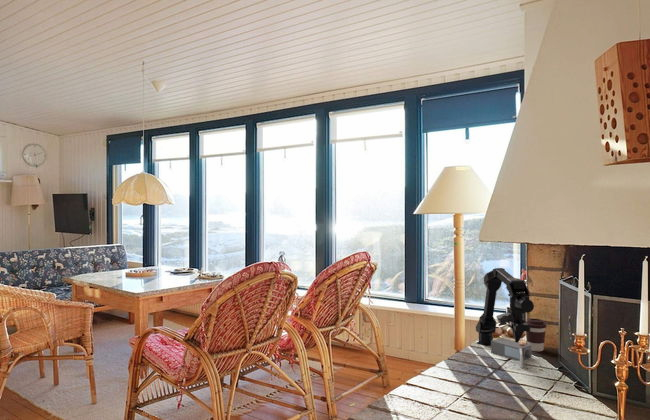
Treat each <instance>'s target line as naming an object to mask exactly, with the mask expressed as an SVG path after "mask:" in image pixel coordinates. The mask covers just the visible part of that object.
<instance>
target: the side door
mask: <svg viewBox="0 0 650 420" xmlns="http://www.w3.org/2000/svg"><path fill="white" fill-rule="evenodd" d="M518 362H519V366H520V368H521V369H523V366H524V361H523V356H522V348H519V361H518Z"/></svg>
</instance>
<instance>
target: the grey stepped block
mask: <svg viewBox="0 0 650 420" xmlns="http://www.w3.org/2000/svg"><path fill="white" fill-rule="evenodd" d="M519 348H522V356H523V362H524V361H527V360H529V359H532V354H533V353H532V352H533V351H532V349H531V345H528V343H525V342H521V341H519V342H515V340H514V339H510V338H509V339H508V338H505V337H499V338H496V339H493V340H492V341H491V345H490V353H491V354H494V355H498V356H501V357H505V358H508V359H511V360H514V361H517V362H519Z"/></svg>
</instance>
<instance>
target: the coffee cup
mask: <svg viewBox="0 0 650 420" xmlns="http://www.w3.org/2000/svg"><path fill="white" fill-rule="evenodd" d="M525 323H526V324H528V325H529V326H530V332H525V335H526V341H527V343H526V344H528V345H531V349H532V352H542V351H544V348H545V341H546V328H547V323H546V322H544V321H543V319H540V318H529V319H527V320H525Z"/></svg>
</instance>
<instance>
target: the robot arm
mask: <svg viewBox="0 0 650 420" xmlns="http://www.w3.org/2000/svg"><path fill="white" fill-rule="evenodd" d="M502 283H503V284H504V285H505V286H506V287H505V289H506V290H507V291H508V297H509V308H508V309H507V312H503V313H502V314H501V313H500V314H497V315H496V319H497V321H496V319H495V317H494V313H495V312H494V311H495V305H496V298H497V292H498V290H500V288H501V287H502ZM483 284H484V285H485V287H486V292H485V300H484V306H483V313H482V314H481V315H480V316H479V320H478V322H477V324H476V325H475V331H476V332H477V333H478V341H477V342H476V344H478V345H481V346H485V347H488V346H491V341H492V340H494V336H493V334H495V333H496V328H497V322H498V324H500V325H505V324H507V323H509V324H508V325H507V326H508V327H509V328H510V329H511V331H512V334H513V340H514V341H515V342H520V340H521V338H522V336H523V334H524V333H526V332H530V326H529V325H528V324H526V323H525V322H526V320H525V319H524V314H528V313H531V312H533V311H534V308H535V305H534V302H533V300H531V299H530V297H531V295H530V290H529V289H528V286H527V283H526V282H525V281H524V280H523V279H521V278H517V277H514V276H513V275H511V274H510V273H509V272H508V271H506V269H505V268H503V267H500V268H499V267H495V268H493V269H492V270H491V271H490V270H489V272H486V273H485V274H484V275H483Z"/></svg>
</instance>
